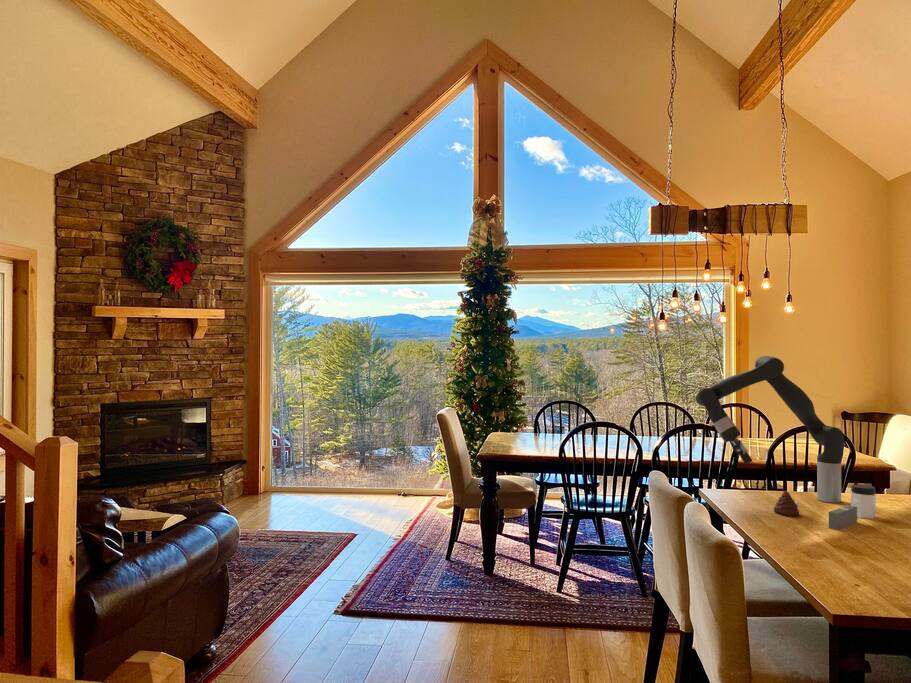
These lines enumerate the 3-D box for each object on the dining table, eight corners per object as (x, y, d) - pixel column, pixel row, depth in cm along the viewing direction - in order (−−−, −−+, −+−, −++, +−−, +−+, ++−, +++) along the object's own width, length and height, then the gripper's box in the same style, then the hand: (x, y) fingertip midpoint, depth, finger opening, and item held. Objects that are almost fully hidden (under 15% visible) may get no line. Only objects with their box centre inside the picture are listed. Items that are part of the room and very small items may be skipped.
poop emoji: (768, 511, 259) (768, 489, 259) (785, 510, 261) (785, 487, 261) (788, 517, 249) (788, 494, 249) (805, 516, 252) (805, 493, 252)
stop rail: (848, 520, 245) (848, 504, 245) (857, 522, 243) (857, 506, 243) (828, 527, 234) (828, 511, 235) (837, 529, 232) (837, 512, 232)
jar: (845, 514, 256) (845, 484, 256) (860, 512, 258) (860, 483, 258) (865, 519, 247) (865, 489, 247) (881, 518, 250) (881, 488, 250)
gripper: (732, 424, 264) (755, 458, 258) (737, 425, 276) (759, 457, 270) (716, 433, 267) (739, 467, 261) (721, 433, 279) (743, 466, 273)
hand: (749, 462), depth 266 cm, fingers open, 8 cm apart
